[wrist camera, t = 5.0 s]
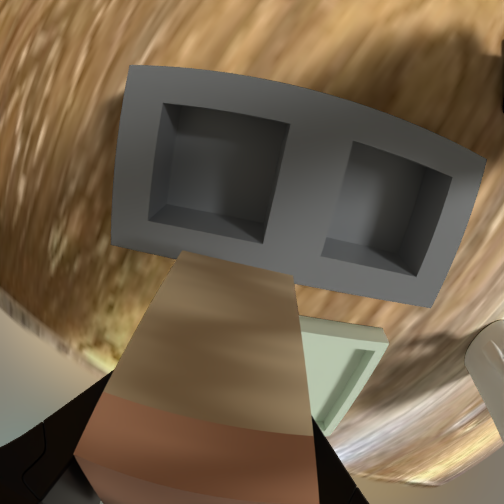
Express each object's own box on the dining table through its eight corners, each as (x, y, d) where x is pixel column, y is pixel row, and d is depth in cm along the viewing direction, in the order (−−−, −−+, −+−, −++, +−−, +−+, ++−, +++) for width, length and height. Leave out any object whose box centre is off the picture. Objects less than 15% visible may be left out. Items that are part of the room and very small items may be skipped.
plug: (293, 275, 11) (318, 503, 4) (265, 356, 13) (259, 542, 5) (182, 250, 11) (73, 453, 3) (172, 335, 12) (109, 511, 5)
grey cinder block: (449, 149, 15) (486, 159, 12) (406, 275, 19) (430, 308, 15) (158, 75, 15) (129, 65, 11) (138, 220, 18) (110, 244, 15)
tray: (382, 328, 21) (389, 343, 19) (327, 421, 26) (329, 436, 24) (220, 300, 20) (216, 316, 19) (202, 405, 25) (199, 420, 24)
